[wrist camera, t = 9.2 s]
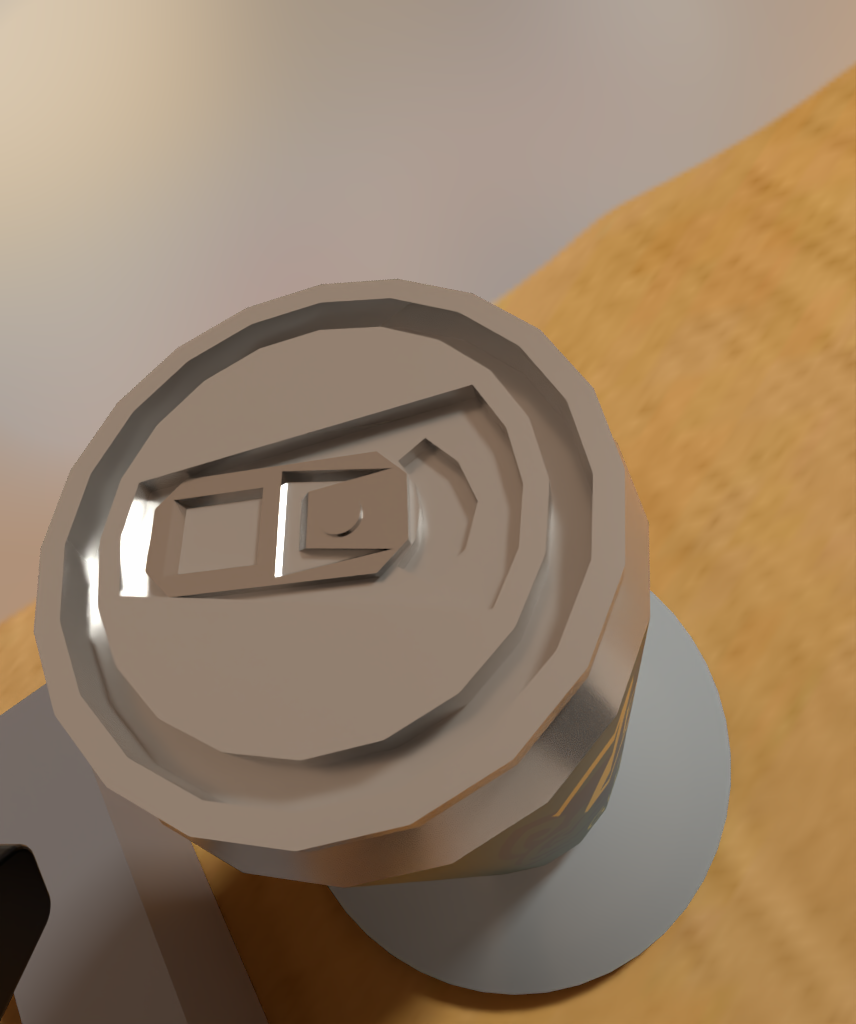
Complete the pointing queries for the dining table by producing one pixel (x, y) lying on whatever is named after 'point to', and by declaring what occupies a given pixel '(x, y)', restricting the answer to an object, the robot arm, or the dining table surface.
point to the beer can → (353, 591)
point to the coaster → (585, 854)
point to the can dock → (111, 895)
